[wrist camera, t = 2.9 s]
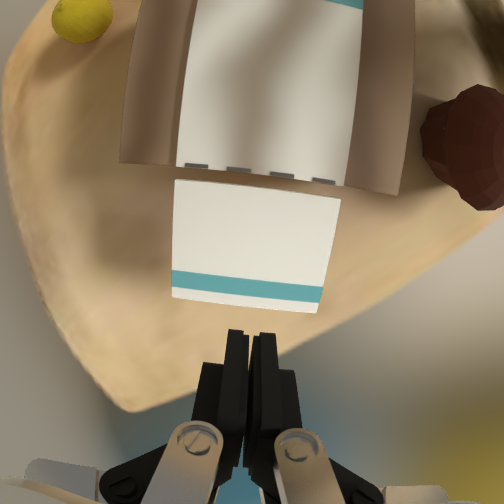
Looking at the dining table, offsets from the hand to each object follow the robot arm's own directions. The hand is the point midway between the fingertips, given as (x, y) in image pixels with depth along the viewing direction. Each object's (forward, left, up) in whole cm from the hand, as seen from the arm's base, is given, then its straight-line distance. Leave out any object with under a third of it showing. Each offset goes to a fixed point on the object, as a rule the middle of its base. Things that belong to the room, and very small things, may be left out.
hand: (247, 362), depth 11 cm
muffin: (-20, -12, -20) cm, 30 cm away
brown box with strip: (0, -14, -20) cm, 24 cm away
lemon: (+18, -20, -20) cm, 33 cm away
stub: (0, -1, -10) cm, 10 cm away
